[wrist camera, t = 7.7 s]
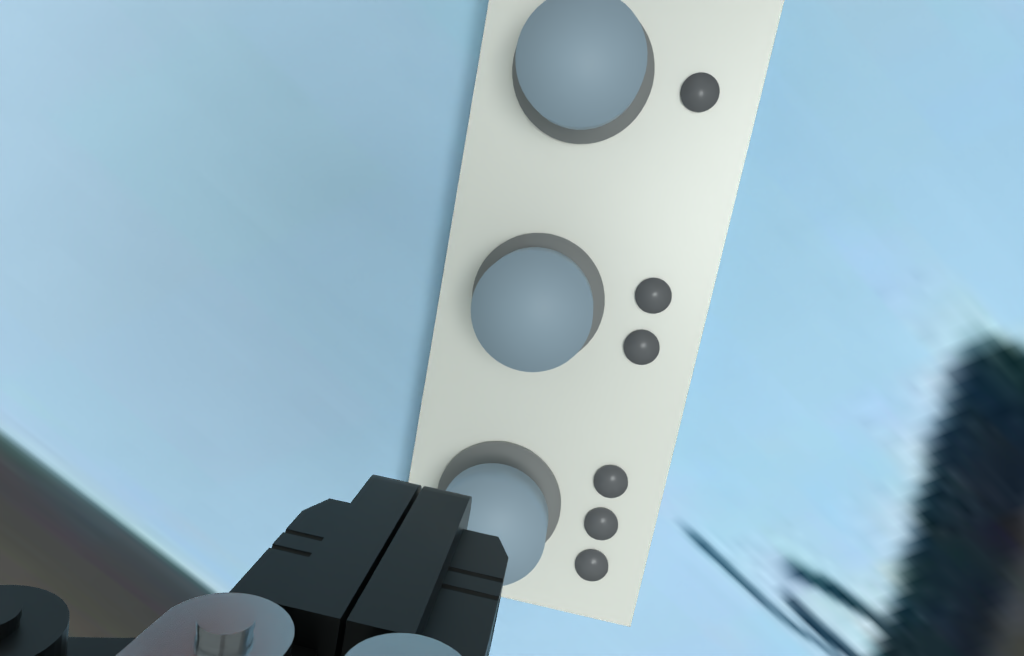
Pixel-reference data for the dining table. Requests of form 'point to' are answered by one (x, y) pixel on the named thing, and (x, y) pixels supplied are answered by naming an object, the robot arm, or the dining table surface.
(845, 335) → the dining table surface
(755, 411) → the dining table surface
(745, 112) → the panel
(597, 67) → the one-dot button
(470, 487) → the three-dot button
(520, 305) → the two-dot button
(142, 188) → the dining table surface
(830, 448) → the dining table surface
